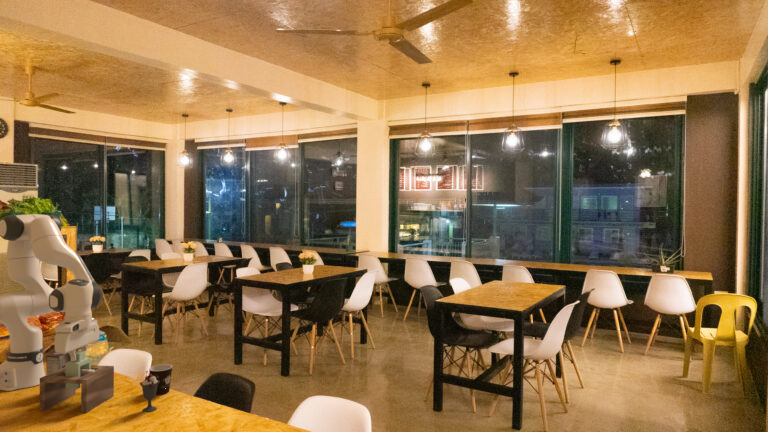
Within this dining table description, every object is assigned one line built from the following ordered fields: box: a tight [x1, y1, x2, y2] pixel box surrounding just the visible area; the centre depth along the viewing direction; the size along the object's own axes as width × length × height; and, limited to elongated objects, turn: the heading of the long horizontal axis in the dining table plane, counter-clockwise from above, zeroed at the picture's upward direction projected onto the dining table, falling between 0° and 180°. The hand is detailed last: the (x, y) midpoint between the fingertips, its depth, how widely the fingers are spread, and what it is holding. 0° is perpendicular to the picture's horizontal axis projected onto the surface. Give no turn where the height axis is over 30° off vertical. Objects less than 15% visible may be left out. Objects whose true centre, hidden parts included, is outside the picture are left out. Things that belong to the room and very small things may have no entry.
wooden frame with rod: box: [39, 364, 115, 414], centre depth 187 cm, size 18×16×13 cm
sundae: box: [139, 370, 160, 413], centre depth 182 cm, size 7×7×15 cm
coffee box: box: [45, 349, 78, 391], centre depth 198 cm, size 9×6×16 cm
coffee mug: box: [148, 363, 173, 396], centre depth 198 cm, size 12×9×10 cm
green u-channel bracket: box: [66, 350, 92, 390], centre depth 187 cm, size 5×7×12 cm
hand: (78, 358), depth 187 cm, fingers closed on green u-channel bracket, 3 cm apart
